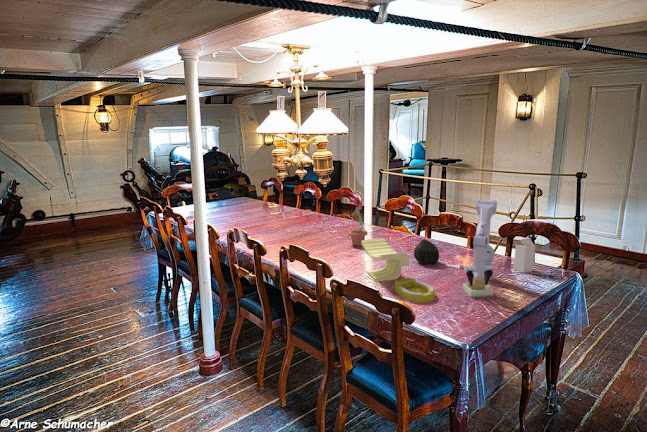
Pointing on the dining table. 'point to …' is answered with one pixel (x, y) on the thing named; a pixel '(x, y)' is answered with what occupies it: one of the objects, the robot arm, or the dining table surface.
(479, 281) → the tea tin
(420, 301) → the ashtray
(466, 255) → the dining table surface
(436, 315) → the dining table surface
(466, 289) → the tote
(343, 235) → the dining table surface
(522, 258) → the milk carton
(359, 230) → the decorative flower
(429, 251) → the squash
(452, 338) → the dining table surface
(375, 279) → the slatted curved stool
